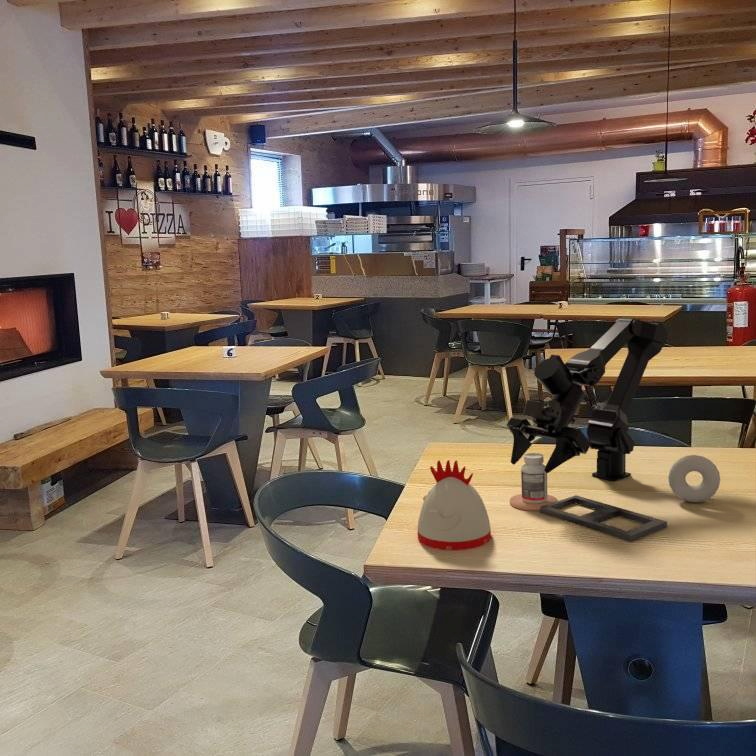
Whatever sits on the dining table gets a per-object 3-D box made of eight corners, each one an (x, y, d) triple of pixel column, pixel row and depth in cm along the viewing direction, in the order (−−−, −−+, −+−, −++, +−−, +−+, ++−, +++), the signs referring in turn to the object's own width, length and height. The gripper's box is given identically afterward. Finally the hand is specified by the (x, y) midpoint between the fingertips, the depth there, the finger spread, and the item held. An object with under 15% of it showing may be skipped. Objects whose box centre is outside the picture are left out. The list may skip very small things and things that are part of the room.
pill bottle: (527, 494, 172) (527, 451, 171) (551, 498, 169) (551, 453, 168) (517, 502, 168) (516, 457, 166) (541, 505, 165) (541, 460, 163)
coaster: (532, 492, 176) (532, 490, 176) (567, 503, 168) (567, 500, 168) (499, 502, 170) (499, 500, 170) (534, 514, 162) (534, 511, 162)
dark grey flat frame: (575, 500, 169) (575, 495, 169) (667, 527, 151) (667, 521, 151) (540, 512, 163) (539, 506, 163) (630, 542, 145) (630, 535, 145)
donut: (718, 500, 165) (719, 453, 164) (720, 505, 162) (722, 458, 160) (667, 498, 168) (668, 452, 166) (668, 503, 165) (669, 456, 163)
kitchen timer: (430, 521, 161) (428, 449, 158) (498, 527, 156) (496, 452, 153) (408, 546, 148) (404, 468, 146) (480, 553, 143) (478, 473, 141)
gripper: (511, 380, 174) (476, 438, 170) (580, 390, 160) (545, 454, 155) (535, 409, 180) (503, 467, 176) (605, 421, 166) (571, 484, 161)
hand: (528, 467), depth 167 cm, fingers open, 9 cm apart
